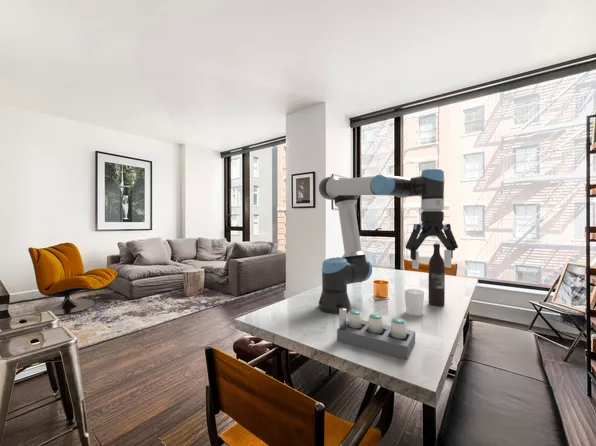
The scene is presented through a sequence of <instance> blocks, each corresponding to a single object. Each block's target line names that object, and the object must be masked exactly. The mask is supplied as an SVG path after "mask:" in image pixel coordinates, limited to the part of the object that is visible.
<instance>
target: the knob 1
mask: <svg viewBox="0 0 596 446" xmlns="http://www.w3.org/2000/svg"><path fill="white" fill-rule="evenodd" d="M362 320H363V313H362V312H361V311H360V310H359V309H350V311H348V312H347V321H348V326H349V327H351V328H361V327H362Z"/></svg>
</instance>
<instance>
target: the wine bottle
mask: <svg viewBox="0 0 596 446" xmlns="http://www.w3.org/2000/svg"><path fill="white" fill-rule="evenodd" d="M432 245H433V253H432V255H431V256H430V259H429V261H428V304H429V305H431V306H433V307H438V308H439V307H444V306H445V298H446V297H445V295H446V292H445V291H446V287H445V286H446V285H445V284H446V283H445V282H446V281H445V279H446V277H445V276H446V271H445V270H446V267H444V258H443V257H442V255H441V253H440V251H441V249H440V248H441V245H440V243H433V244H432Z"/></svg>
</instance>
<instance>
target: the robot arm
mask: <svg viewBox="0 0 596 446" xmlns="http://www.w3.org/2000/svg"><path fill="white" fill-rule="evenodd" d="M445 181H446V180H445V171H444V170H443V168H439V167H438V168H437V167H434V168H432V167H431V168H425V169H422V171H421V174H420V175H419V176H413V177H407V176H406V177H405V176H398V175H397V176H396V175H389V174H385V173H383V174H376V175H374V176H361V177H347V178H346V177H338V176H337V177H336V176H327V177H324V178H323V179H321V181H320V183H319V184H318V192H319V194H320V195H321V196H322V197H323V199H326V200H330V201H331V200H332V201H333V202H334V206H335V207H336V208H337V209H338V216H339V222H340V231H341V237H342V244H343V252H344V253H343V255H342V256H338V257H329V258H327V259H324V260H323V262H322V265H321V266H322V267H321V271H322V274H321V276H322V279H321V284H322V285H321V286H322V289H321V295H320V297H319V300H318V309H319V310H320V311H322V312H325V313H329V314H339V308H346V313H348V312H349V311H350V310H352V309H351V300H350V298H349V294H348V285H351V284H356V283H362V282H365V281H368V279H370V277H371V276H372V274H373V264H372V262H371V261H370V259H368V258H366V253H364V252H363V251H362V244H361V237H360V231H359V224H358V219H357V213H356V212H357V211H356V204H357V203H358V199H359V198H360V196H392V197H393V196H394V197H397V198H409V197H410V198H411V197H420V198H421V200H420V202H421V203H420V210H421V212H420V220H421V224H420V223H414V224H413V229H412V231H411V233H410V236H409V238H408V240H407V242H406V244H405V249H407V250H409V251H410V260H411V261H412V262H411V268H412V269H415V270H419V267H420V266H419V262H420V258H419V257H420V255H419V254H420V253H419V250H418V249H419V248H420V246H421V245H422V244H423V243H424V241H425V240H426V239H427V238H428V237H437V238H438V239H439V241H440V242H441V244H442V245H443V246H444V248H445V249H444V252H443V253H444V254H443V255H444V256H443V257H444V258H443V261H444V267H445V268H448V269H451V268H452V259H453V258H454V257H453V255H454V253H453V252H454V251H455V250H456V249H458V248H459V245H458V243H457V241H456V238H455V236H454V234H453V231H452V226H451V224H450V223H443V222H444V220H445V217H444V216H445V215H444V211H443V210H444V209H445V198H444V197H445V195H444V194H445Z"/></svg>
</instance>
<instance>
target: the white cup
mask: <svg viewBox="0 0 596 446" xmlns="http://www.w3.org/2000/svg"><path fill="white" fill-rule="evenodd" d="M424 299H425V292H424V290H421V289H416V288H406V289H404V300H405V301H404V302H405V313H406V314H407V315H410V316H413V317H414V316H415V317H418V316H419V317H420V316H422V315H423V311H424Z"/></svg>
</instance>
